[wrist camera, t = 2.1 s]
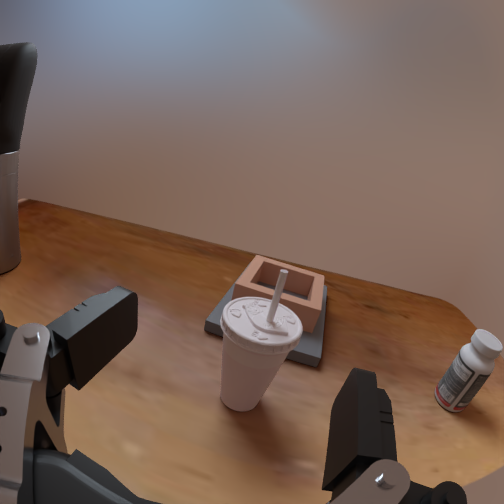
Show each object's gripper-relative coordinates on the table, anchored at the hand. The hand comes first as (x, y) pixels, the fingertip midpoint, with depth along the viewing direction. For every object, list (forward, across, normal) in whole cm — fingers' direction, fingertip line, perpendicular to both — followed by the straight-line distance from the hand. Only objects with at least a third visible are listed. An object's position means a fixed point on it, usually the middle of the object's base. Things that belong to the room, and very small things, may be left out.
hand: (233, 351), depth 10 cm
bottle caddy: (+30, 0, +15) cm, 33 cm away
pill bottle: (+19, -26, +16) cm, 36 cm away
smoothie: (+12, 0, +15) cm, 19 cm away
